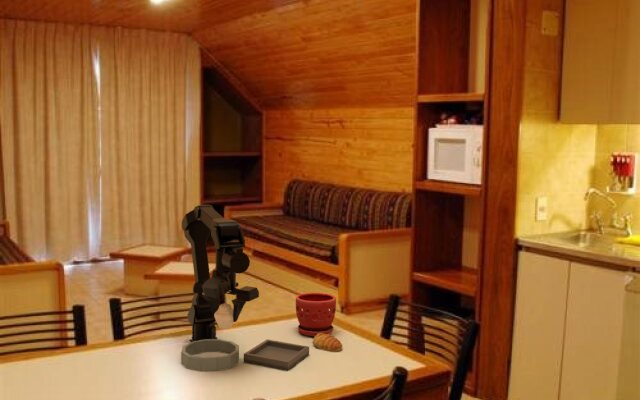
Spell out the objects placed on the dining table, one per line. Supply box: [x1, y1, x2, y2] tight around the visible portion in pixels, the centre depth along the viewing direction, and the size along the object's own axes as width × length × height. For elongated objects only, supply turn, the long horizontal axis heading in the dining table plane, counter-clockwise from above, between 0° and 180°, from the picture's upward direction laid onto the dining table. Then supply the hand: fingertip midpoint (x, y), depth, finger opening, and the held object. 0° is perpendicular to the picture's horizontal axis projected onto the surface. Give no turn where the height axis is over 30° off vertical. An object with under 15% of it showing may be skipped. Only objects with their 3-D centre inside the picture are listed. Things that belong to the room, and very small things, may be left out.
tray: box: [243, 338, 310, 372], centre depth 190 cm, size 14×14×2 cm
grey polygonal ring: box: [180, 338, 240, 372], centre depth 187 cm, size 16×16×4 cm
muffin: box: [214, 302, 235, 330], centre depth 186 cm, size 6×6×7 cm
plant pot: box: [295, 292, 337, 337], centre depth 214 cm, size 13×13×12 cm
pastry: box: [312, 333, 343, 352], centre depth 200 cm, size 9×7×4 cm
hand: (225, 320), depth 186 cm, fingers closed on muffin, 6 cm apart
